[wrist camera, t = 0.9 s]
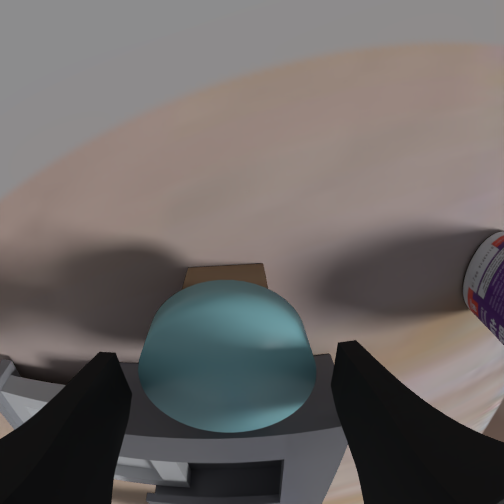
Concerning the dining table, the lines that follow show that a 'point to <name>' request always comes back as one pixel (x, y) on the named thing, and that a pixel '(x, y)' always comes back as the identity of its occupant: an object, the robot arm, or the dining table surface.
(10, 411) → the tray
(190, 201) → the dining table surface
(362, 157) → the dining table surface
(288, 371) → the teal rounded dome
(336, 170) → the dining table surface
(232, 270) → the brown rectangular block
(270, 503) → the grey drawer housing
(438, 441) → the robot arm
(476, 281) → the pill bottle
